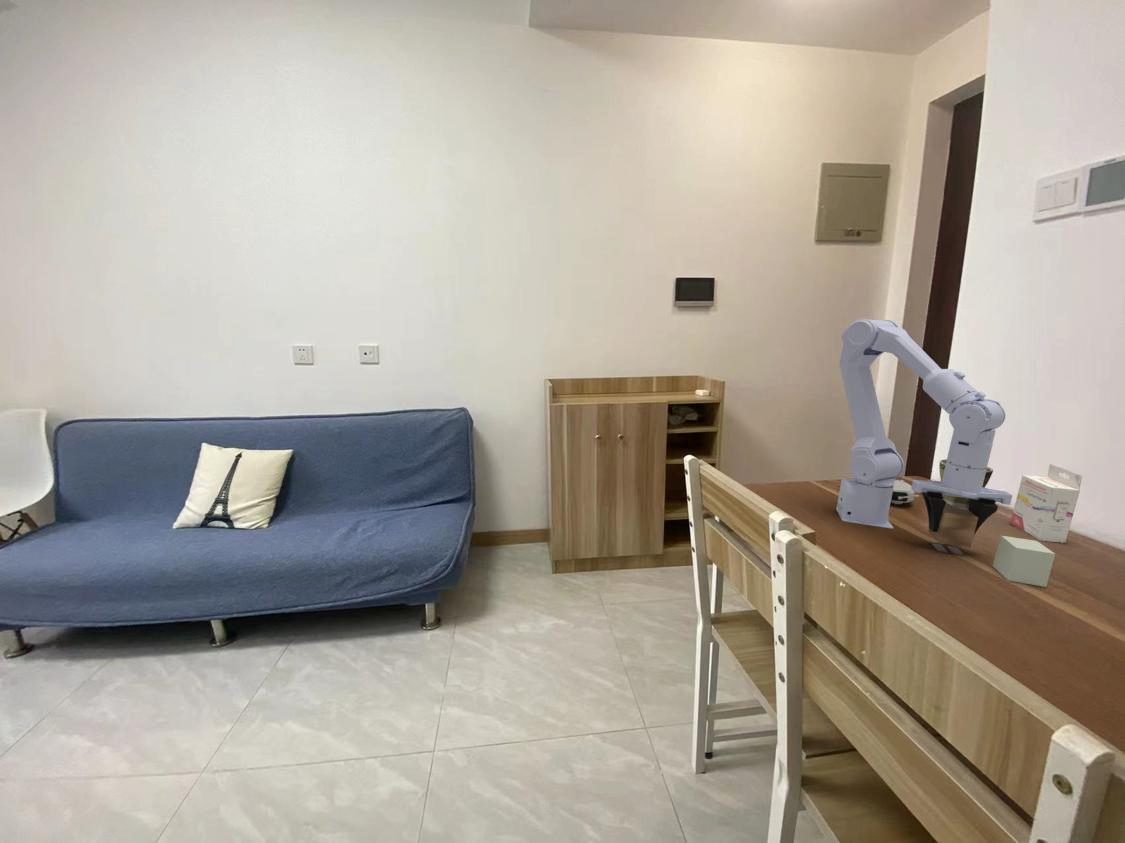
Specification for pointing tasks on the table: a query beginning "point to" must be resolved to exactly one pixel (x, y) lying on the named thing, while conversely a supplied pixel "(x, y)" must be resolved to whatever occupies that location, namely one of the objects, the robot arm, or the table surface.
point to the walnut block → (956, 527)
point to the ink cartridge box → (1047, 504)
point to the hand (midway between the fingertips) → (950, 532)
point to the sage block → (1023, 561)
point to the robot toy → (902, 492)
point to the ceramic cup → (959, 500)
